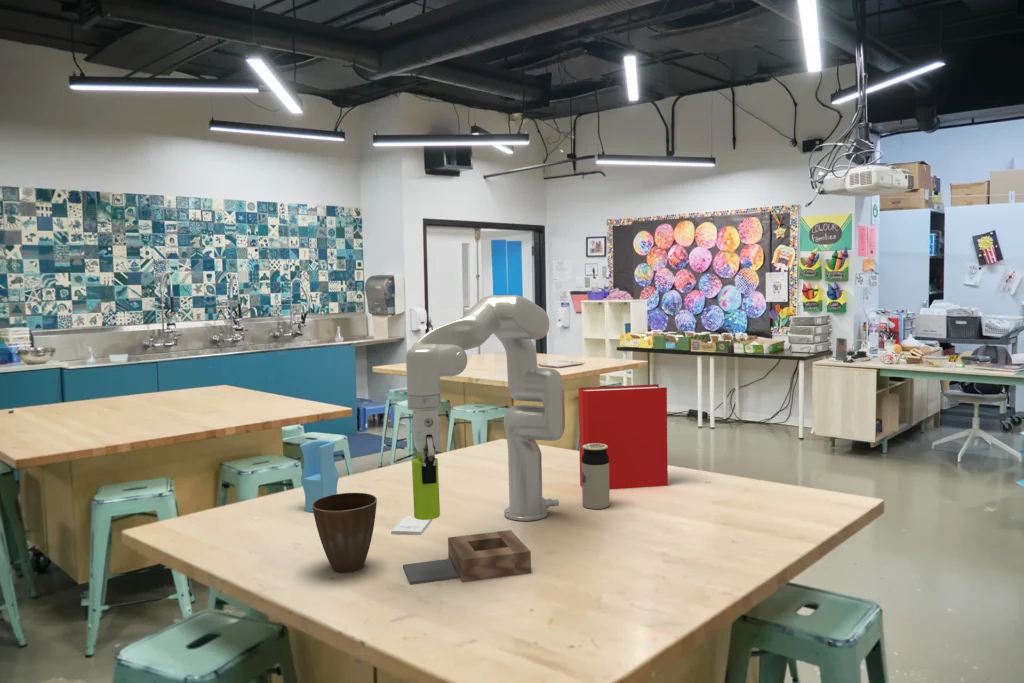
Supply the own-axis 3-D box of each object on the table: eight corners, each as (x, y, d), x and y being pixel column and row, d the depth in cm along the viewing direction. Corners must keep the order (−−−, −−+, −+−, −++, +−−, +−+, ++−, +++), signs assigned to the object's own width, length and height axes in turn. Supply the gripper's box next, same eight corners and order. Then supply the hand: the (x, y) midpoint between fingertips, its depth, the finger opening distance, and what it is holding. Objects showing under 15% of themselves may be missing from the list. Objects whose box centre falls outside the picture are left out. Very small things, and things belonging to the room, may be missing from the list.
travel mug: (609, 501, 228) (608, 442, 227) (610, 509, 220) (609, 448, 219) (582, 501, 229) (581, 443, 228) (582, 509, 221) (581, 448, 220)
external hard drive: (432, 522, 215) (420, 537, 202) (404, 521, 216) (391, 536, 204) (432, 516, 215) (420, 531, 202) (403, 516, 216) (390, 530, 204)
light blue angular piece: (302, 511, 227) (299, 445, 225) (318, 503, 234) (315, 439, 233) (324, 513, 224) (321, 446, 222) (339, 506, 231) (337, 441, 230)
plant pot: (348, 584, 170) (345, 514, 169) (301, 572, 178) (298, 505, 177) (392, 562, 183) (389, 497, 181) (347, 552, 190) (344, 489, 189)
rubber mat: (448, 561, 182) (448, 558, 182) (458, 577, 172) (458, 575, 172) (402, 567, 179) (402, 564, 179) (410, 584, 169) (409, 581, 169)
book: (659, 479, 253) (658, 384, 250) (667, 485, 245) (666, 387, 242) (579, 484, 249) (577, 387, 246) (585, 491, 241) (583, 391, 238)
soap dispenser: (446, 512, 177) (442, 427, 176) (433, 520, 171) (429, 432, 169) (423, 510, 179) (419, 426, 178) (409, 519, 172) (405, 431, 171)
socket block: (511, 549, 189) (511, 530, 189) (531, 572, 174) (530, 551, 174) (448, 557, 185) (447, 537, 185) (462, 581, 170) (462, 559, 169)
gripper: (448, 406, 165) (450, 487, 167) (433, 395, 182) (435, 469, 183) (413, 408, 163) (416, 490, 165) (402, 397, 180) (404, 472, 181)
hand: (426, 479), depth 174 cm, fingers closed on soap dispenser, 5 cm apart
